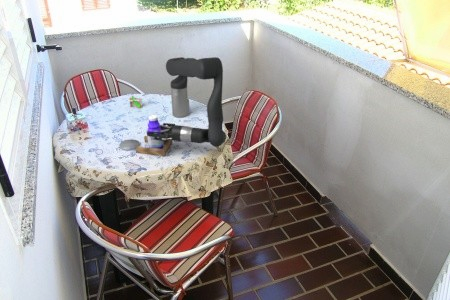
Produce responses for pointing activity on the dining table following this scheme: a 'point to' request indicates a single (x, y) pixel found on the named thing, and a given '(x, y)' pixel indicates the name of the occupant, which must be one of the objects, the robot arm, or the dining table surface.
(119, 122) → the dining table surface
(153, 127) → the bottle
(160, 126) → the robot arm
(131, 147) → the coaster
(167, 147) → the wooden frame
